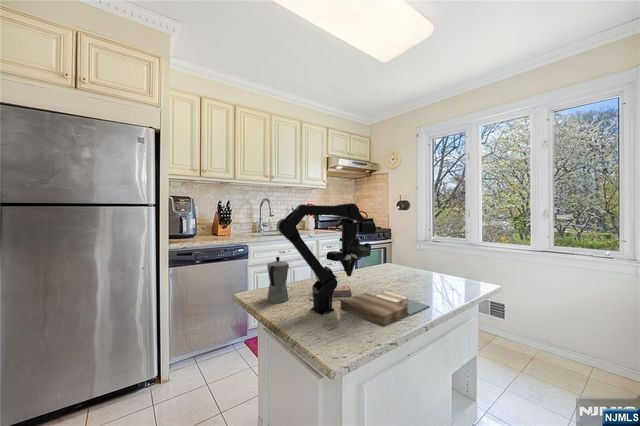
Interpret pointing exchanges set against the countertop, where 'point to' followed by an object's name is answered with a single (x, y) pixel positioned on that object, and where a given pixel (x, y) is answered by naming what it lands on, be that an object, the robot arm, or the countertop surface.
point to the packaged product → (337, 293)
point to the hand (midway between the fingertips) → (349, 276)
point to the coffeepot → (277, 281)
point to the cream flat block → (394, 298)
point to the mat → (413, 306)
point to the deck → (374, 308)
